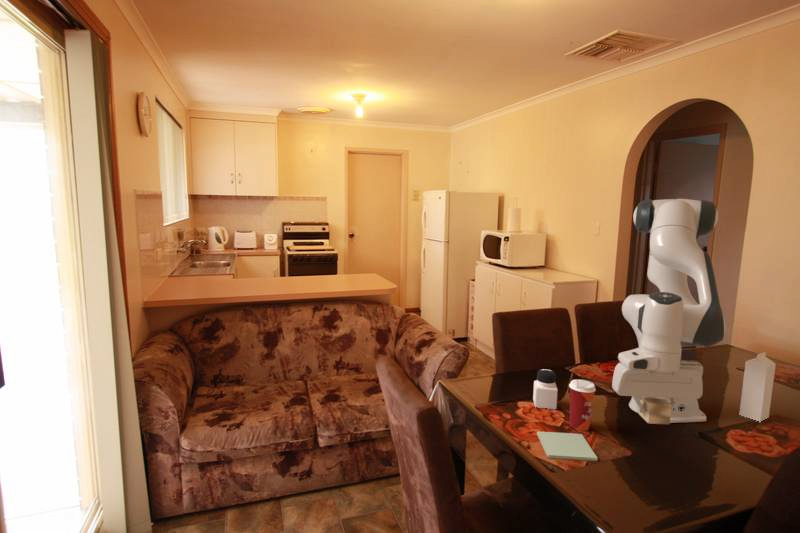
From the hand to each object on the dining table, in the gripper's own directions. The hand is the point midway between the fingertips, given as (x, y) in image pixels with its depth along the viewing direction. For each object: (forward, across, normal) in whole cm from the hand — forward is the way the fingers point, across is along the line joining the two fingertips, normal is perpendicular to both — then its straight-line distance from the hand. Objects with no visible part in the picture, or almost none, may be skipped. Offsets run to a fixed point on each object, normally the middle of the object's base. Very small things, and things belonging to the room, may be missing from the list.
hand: (654, 412), depth 109 cm
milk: (+17, -52, -39) cm, 67 cm away
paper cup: (+17, +9, -25) cm, 31 cm away
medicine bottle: (+17, +16, -40) cm, 46 cm away
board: (+17, +17, -12) cm, 27 cm away
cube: (+2, 0, 0) cm, 2 cm away
